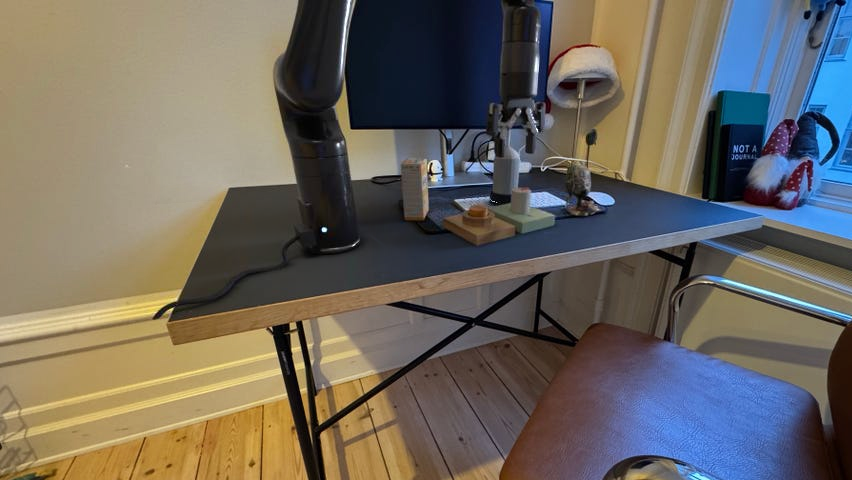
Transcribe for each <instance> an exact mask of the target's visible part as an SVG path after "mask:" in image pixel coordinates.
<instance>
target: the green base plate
mask: <svg viewBox="0 0 852 480" xmlns="http://www.w3.org/2000/svg"><path fill="white" fill-rule="evenodd" d="M487 208H488V210H489V211H492V212H494V214H495V218H498V219H500V220H502V221H505V222H507V223H509V224H512V225H514V226H515V232H517V233H519V234H521V235H523V234H526V233H530V232H534V231H538V230H541V229H546V228H549V227H553V226H555V222H556V221H555V220H556V215H555V214H553V213H550V212H547V211H544V210H542V209H539V208H536V207H533V206H532V205H530V211H529V213H526V214H516V213H513V212H511V203H509V204H504V205H499V206H494V205H493V206H488V207H487Z"/></svg>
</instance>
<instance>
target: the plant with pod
mask: <svg viewBox="0 0 852 480" xmlns="http://www.w3.org/2000/svg"><path fill="white" fill-rule="evenodd" d="M597 130H598V129H596V128H592V129H590V130H588V131H587V133H586V134H585V144H586V145H587V152H586V153H587V154H586V155H587V156H586V165H583V164H576V163H574V164H572V165H569V166H567V168H566V175H565V181H564V191H565V193H567V194H568V197H567V199H566V200H565V205H564V209H565V210H566V212H568V214H570V215H573V216H576V217H578V216H579V217H586V216H590V215H591V216H592V215H594V214H595V213H597V212H599V211H602V209H601V208H600V207H599V205H595V201H594V200H587V196H589V194H590V193H591V187H592V177H591V170H590V169H589V157H590V147H591V146H593V145H594V146H596V145H597V142H596V141H597V140H598V132H597ZM573 196H574V197H575V199H576V205H573V206H572V205H570V206H568V204H569V203H570V201H571V198H572V197H573ZM583 199H584V200H583ZM567 206H568V207H567Z"/></svg>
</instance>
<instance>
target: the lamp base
mask: <svg viewBox="0 0 852 480" xmlns="http://www.w3.org/2000/svg"><path fill="white" fill-rule="evenodd" d="M442 228H444V229H447V230H448V231H450V232H451V233H453V234H455V235H457V236H459V237H460V238H462V239H464V240H465V241H467V242H469V243H471V244H472V245H475V246H480V245H484V244H488V243H492V242H496V241H499V240H504V239H507V238H511V237H515V236H516V231H515V226H514V225H512V224H509V223H507V222H505V221H502V220H500V219H498V218H495V214H494V212H492V211H489V210H488V216H485V217H472V216H469V209H467V210H464V211H462V212H461V213H460V214H459V213H458V214H455V215H450V216H444V217H442Z"/></svg>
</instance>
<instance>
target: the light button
mask: <svg viewBox="0 0 852 480" xmlns="http://www.w3.org/2000/svg"><path fill="white" fill-rule="evenodd" d="M488 208H489V207H488V206H487V205H482V204H475V205H474V204H473V205H470V206H469V207H468V210H469V216H472V217H485V216H488Z"/></svg>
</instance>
